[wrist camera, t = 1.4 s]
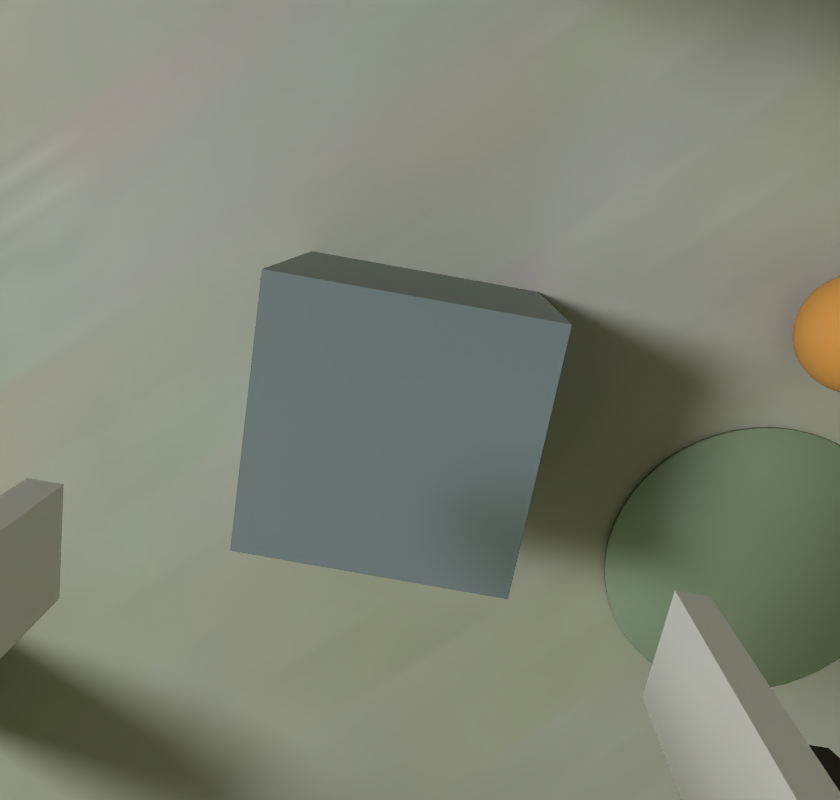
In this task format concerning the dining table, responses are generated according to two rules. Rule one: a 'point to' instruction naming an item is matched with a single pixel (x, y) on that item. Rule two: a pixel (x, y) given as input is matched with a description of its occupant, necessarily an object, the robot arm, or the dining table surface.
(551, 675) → the dining table surface
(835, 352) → the ball
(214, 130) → the dining table surface
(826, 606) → the green flat disc
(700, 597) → the robot arm
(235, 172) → the dining table surface
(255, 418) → the slate square block
